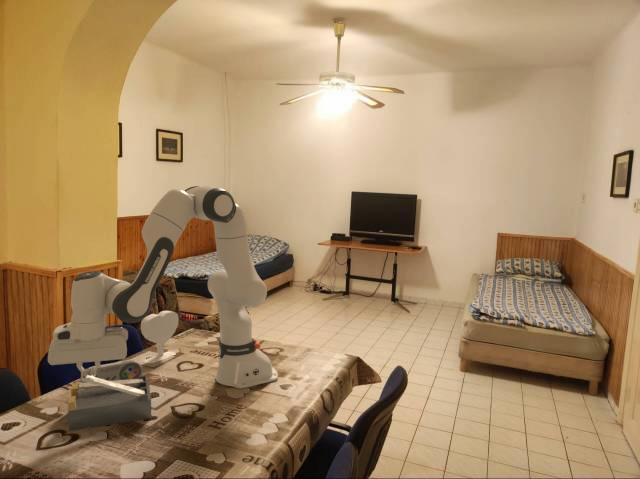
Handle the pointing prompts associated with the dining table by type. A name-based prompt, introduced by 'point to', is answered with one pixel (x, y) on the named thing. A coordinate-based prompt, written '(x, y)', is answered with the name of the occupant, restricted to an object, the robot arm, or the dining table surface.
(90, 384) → the strap far
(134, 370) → the game controller
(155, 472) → the dining table surface
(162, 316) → the heart sculpture
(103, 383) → the strap near
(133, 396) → the grey boxy piece
